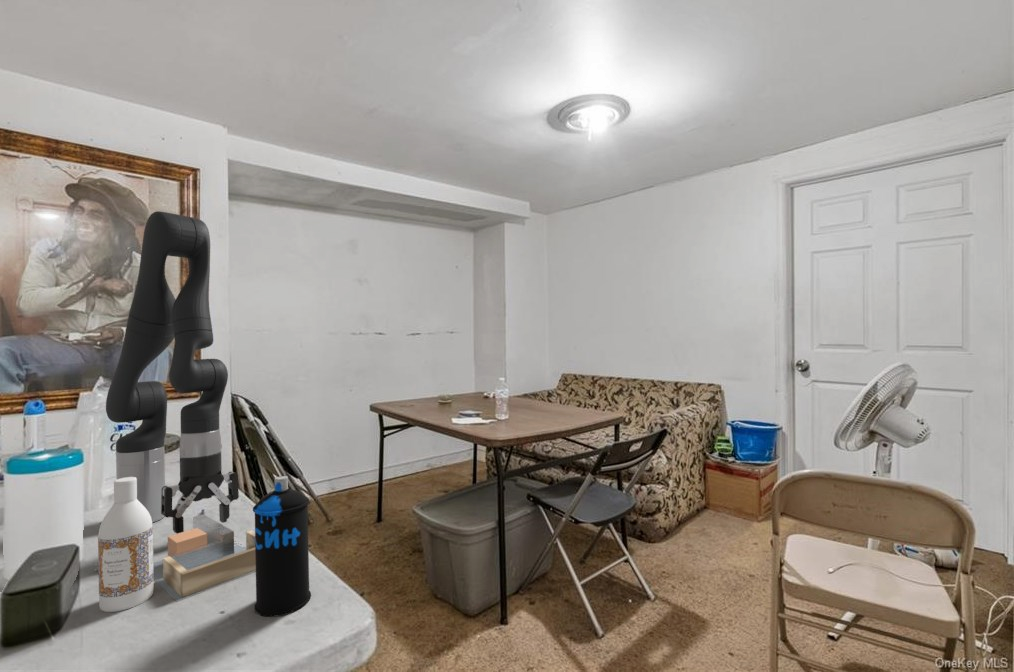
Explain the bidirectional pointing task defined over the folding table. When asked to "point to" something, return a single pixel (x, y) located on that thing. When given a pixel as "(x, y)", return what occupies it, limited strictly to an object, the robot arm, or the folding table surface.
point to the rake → (208, 544)
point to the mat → (159, 569)
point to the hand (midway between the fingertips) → (202, 527)
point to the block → (186, 541)
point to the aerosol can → (281, 551)
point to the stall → (210, 570)
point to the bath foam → (125, 551)
